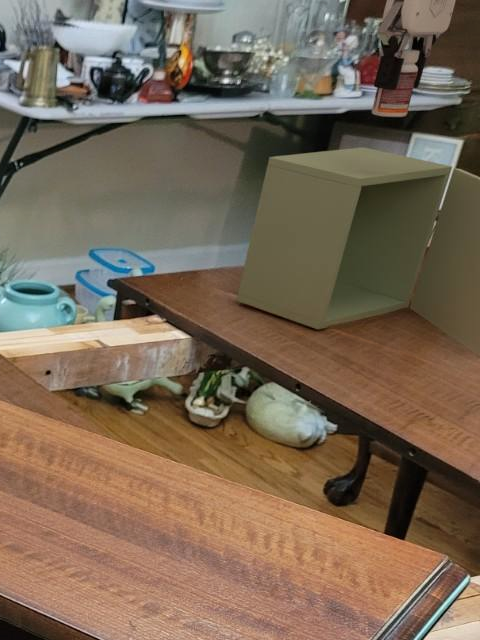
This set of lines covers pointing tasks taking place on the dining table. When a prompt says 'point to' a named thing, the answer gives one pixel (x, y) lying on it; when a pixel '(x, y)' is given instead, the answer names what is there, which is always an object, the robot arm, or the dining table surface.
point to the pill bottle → (398, 89)
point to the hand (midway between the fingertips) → (396, 86)
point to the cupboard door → (454, 265)
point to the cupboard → (340, 234)
